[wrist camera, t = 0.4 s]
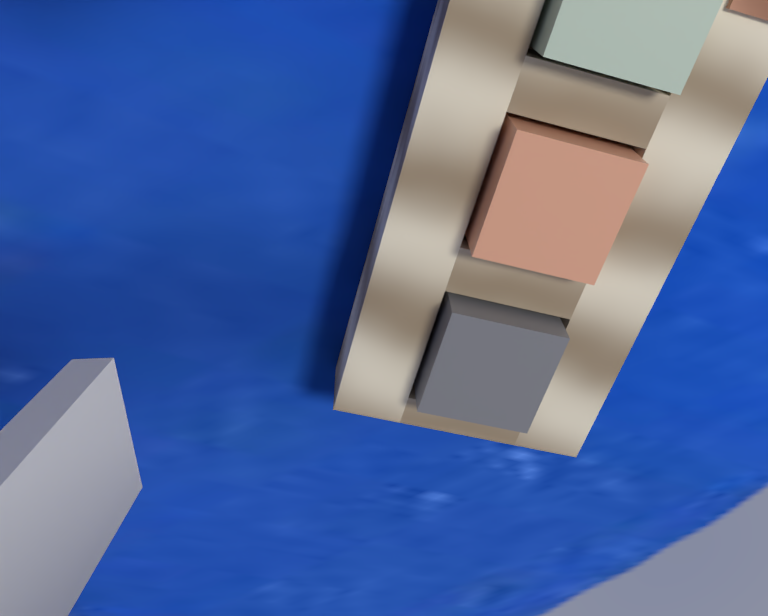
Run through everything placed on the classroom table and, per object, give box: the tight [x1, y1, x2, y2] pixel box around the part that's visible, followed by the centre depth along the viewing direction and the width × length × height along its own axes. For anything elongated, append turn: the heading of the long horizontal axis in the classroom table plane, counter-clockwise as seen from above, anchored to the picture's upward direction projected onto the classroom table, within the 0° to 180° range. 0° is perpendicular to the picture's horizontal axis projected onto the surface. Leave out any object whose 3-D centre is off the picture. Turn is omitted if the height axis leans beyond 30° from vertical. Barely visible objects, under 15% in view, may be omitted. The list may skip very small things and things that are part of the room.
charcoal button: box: [414, 291, 570, 434], centre depth 37 cm, size 6×6×3 cm
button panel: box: [333, 0, 768, 457], centre depth 35 cm, size 28×14×4 cm, turn 165°
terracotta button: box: [465, 112, 649, 285], centre depth 33 cm, size 6×6×3 cm
